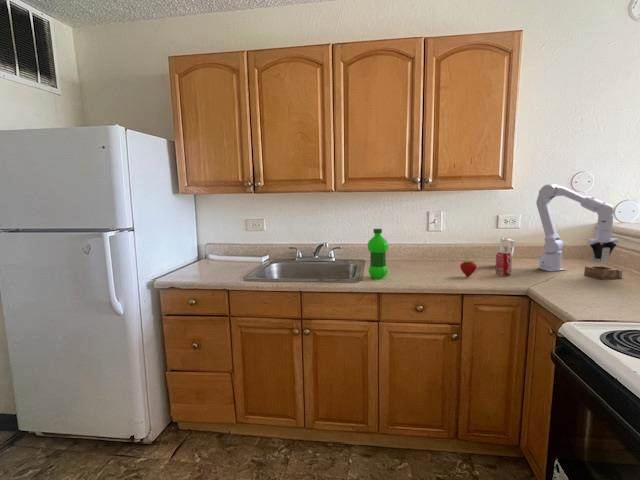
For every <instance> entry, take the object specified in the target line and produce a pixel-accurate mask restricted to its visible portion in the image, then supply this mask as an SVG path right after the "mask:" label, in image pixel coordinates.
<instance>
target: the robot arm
mask: <svg viewBox="0 0 640 480" xmlns="http://www.w3.org/2000/svg"><path fill="white" fill-rule="evenodd" d="M562 196H563V197H565V198H567V199H570V200H572V201H575V202H577V203H579V204H580V206H581V207H582V208H584V209H586V210H588V211H591V212H593V213H596V215H597V220H596V221H597V222H596V223H597V224H596V233H595V238H590V239H588V240H587V245H589V246H590V248H591V249H592V251H593V256H594V255H595V258H597V259H600V257H601V252H602V249H603V247H609V248H610V254H609V257H610V256H611V253H612V252H613V250H614V249H615V247H616V246H617V243H618V244H619V242H620V238H618V237H612V234H613V225H614V214H615V212H616V207H615V206H614V205H612V204H611V203H607V202H606V201H604V200H603V201H602V200H599V199H597V198H596V196H594V195H591V196H589V195H587V196H583V195H581V194H580V193H577V192H575V191H573V190H571V189H569V188H567V187H565V186H561V185H559V184H556V183H552V184H544V185H543V186H542V187H541V188H540V189H539V190H538V195H537V198H536V201H535V203H536V207H537V211H538V214H539V218H540V221H541V224H542V228H543V232H544V246H543V247H544V250H545V252H542V253H541V254H540V255H539V261H538V266H537V269H541V270H543V271H547V272H557V271H566V268H562V259H563V251H562V250H563V248H564V246H565V243H564V241H563V240H562V239H561V237H560V235H559V234H558V232H557V229H556V226H555V221H554V218H553V215H552V211H551V208H550V203H551V201H552V200H553V199H554V198H556V197H562Z"/></svg>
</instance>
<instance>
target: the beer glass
mask: <svg viewBox="0 0 640 480" xmlns="http://www.w3.org/2000/svg"><path fill="white" fill-rule="evenodd" d="M499 251H509V252H511V255H512V257H513V255H514V251H515V239H514V238H510V237H509V238H500V240H499Z"/></svg>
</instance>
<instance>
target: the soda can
mask: <svg viewBox="0 0 640 480" xmlns="http://www.w3.org/2000/svg"><path fill="white" fill-rule="evenodd" d="M512 267H513V256H512V255H511V252H509V251H500V250H498V251H497V253H496V255H495V274H496V275H497V276H498V277H503V278H507V277H509V276H511V274H512Z"/></svg>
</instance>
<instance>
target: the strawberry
mask: <svg viewBox="0 0 640 480" xmlns="http://www.w3.org/2000/svg"><path fill="white" fill-rule="evenodd" d="M474 262H475V261H473V260H468V257H467V259H466V260H463V262H462V263H460V266H459V267H460V271H462V274H464V276H466V277H467V278H469V277H471V276H472V275H473V274H474V273H475V272H476V270H477V264H476V263H474ZM466 277H465V278H466Z"/></svg>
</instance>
